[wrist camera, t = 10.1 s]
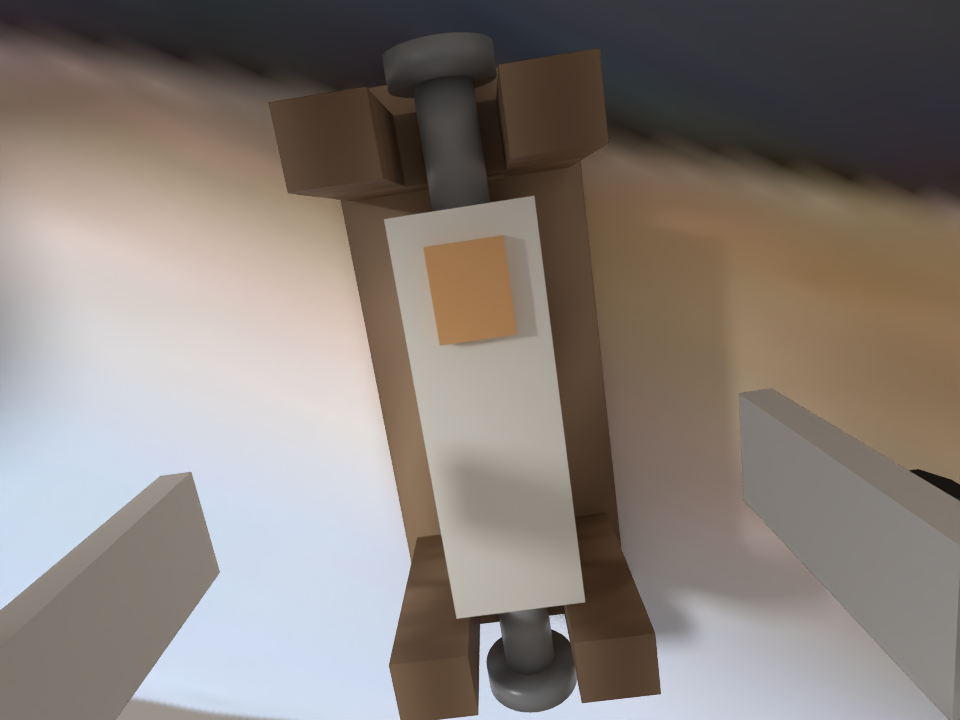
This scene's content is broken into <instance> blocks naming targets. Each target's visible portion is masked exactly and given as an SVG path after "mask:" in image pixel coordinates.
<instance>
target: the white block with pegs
mask: <svg viewBox="0 0 960 720" xmlns="http://www.w3.org/2000/svg"><path fill="white" fill-rule="evenodd" d="M382 60H383V66H384V71H385V77H386V83H387V89H388V93H389V94H390V95H392V96H396V97H402V98H414V101H415V107H416V113H417V120H418V126H419V132H420V138H421V144H422V150H423V156H424V162H425V168H426V175H427V181H428V187H429V193H430V199H431V205H432V211H433V212H427V213H420V214H414V215H407V216H401V217H395V218H388V219H384V223H385V228H386V234H387V239H388V245H389V250H390V256H391V261H392V267H393V272H394V278H395V283H396V289H397V294H398V300H399V305H400V311H401V316H402V322H403V327H404V333H405V338H406V344H407V349H408V355H409V360H410V366H411V371H412V377H413V382H414V388H415V393H416V399H417V404H418V410H419V415H420V421H421V426H422V432H423V437H424V443H425V448H426V454H427V459H428V465H429V470H430V476H431V481H432V487H433V492H434V498H435V503H436V509H437V514H438V519H439V525H440V530H441V536H442V541H443V547H444V552H445V558H446V563H447V569H448V574H449V580H450V585H451V591H452V596H453V602H454V607H455V613H456V618H457V619H458V618H466V617H474V616H482V615H490V614H497V613H498V615H499V621H500V627H501V633H502V637H501V638H500V639H498V640H497V641H496V642H495V643H494V645H493V646H492V647H491V649H490V651H489V653H488V656H487V669H488V675H489V681H490V686H491V690H492V693H493V695H494V696H495V698H496V699H497V700H498V701H499V702H500V703H501V704H503V705H504V706H506V707H508V708H510V709H513V710H516V711H520V712H540V711H545V710H548V709H551V708H553V707H555V706H557V705H559V704H561V703H562V702H563V701H565V700H566V699H567V698H568V697H569V696H570V694H571V693H572V692H573V690H574V688H575V685H576V682H577V675H576V670H575V665H574V659H573V654H572V649H571V644H570V642H569V641H568V639H567V638H566V637H564V636H563V635H562V634H560V633H558V632H556V631H554V630H551V627H550V620H549V613H548V607H552V606H560V605H568V604H576V603H584V602H585V596H584V588H583V580H582V572H581V564H580V556H579V548H578V540H577V532H576V524H575V516H574V508H573V500H572V492H571V484H570V476H569V468H568V460H567V452H566V444H565V436H564V428H563V420H562V412H561V405H560V397H559V389H558V381H557V373H556V365H555V357H554V349H553V341H552V333H551V325H550V317H549V309H548V301H547V293H546V285H545V277H544V269H543V261H542V253H541V245H540V237H539V229H538V221H537V213H536V205H535V197H534V196H530V197H523V198H517V199H510V200H504V201H497V202H491V203H490V197H489V189H488V182H487V175H486V168H485V161H484V154H483V147H482V140H481V133H480V126H479V119H478V112H477V105H476V98H475V91H474V89H475V88H478V87H480V86H483V85H485V84H487V83H490V82H491V81H493V80H494V79H495V78H496V77H497V71H496V63H495V56H494V48H493V41H492V39H491V38H490V37H489V36H486V35H483V34H479V33H472V32H452V33H441V34H435V35H429V36H424V37H420V38H416V39H412V40H409V41H406V42H403V43H400V44H398V45H396V46H394V47H392V48H390V49H389V50H387V51H386V52H385V53H384V54H383V56H382Z"/></svg>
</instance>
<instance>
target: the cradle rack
mask: <svg viewBox="0 0 960 720" xmlns="http://www.w3.org/2000/svg"><path fill="white" fill-rule="evenodd" d="M496 71H497V77H496V78H495V79H494V80H493V81H491V82H490V83H487V84H485V85H483V86H480V87H478V88H475V89H474V91H475V98H476V105H477V112H478V119H479V126H480V133H481V140H482V147H483V154H484V161H485V168H486V175H487V182H488V189H489V197H490V203H491V202H497V201H504V200H510V199H517V198H523V197H530V196H534V197H535V205H536V213H537V221H538V229H539V237H540V245H541V253H542V261H543V269H544V277H545V285H546V293H547V301H548V309H549V317H550V325H551V333H552V341H553V349H554V357H555V365H556V373H557V381H558V389H559V397H560V405H561V412H562V420H563V428H564V436H565V444H566V452H567V460H568V468H569V476H570V484H571V492H572V500H573V508H574V516H575V524H576V532H577V540H578V548H579V556H580V564H581V572H582V580H583V588H584V596H585V602H584V603H576V604H568V605H560V606H552V607H548V613H549V615H557V614H565V618H566V623H567V629H568V634H569V639H570V644H571V649H572V654H573V659H574V665H575V670H576V675H577V680H578V685H579V690H580V695H581V701H582V703H588V702H596V701H605V700H614V699H622V698H631V697H640V696H649V695H657V694H661V690H660V679H659V669H658V658H657V647H656V637H655V632H654V629H653V627H652V624H651V622H650V619H649V617H648V614H647V612H646V609H645V607H644V605H643V602H642V600H641V597H640V595H639V592H638V590H637V587H636V585H635V582H634V580H633V577H632V575H631V572H630V570H629V567H628V565H627V562H626V560H625V557H624V555H623V552H622V550H621V542H620V533H619V523H618V514H617V505H616V495H615V486H614V476H613V467H612V457H611V448H610V438H609V429H608V419H607V410H606V400H605V391H604V382H603V372H602V363H601V353H600V344H599V334H598V325H597V315H596V306H595V296H594V287H593V277H592V268H591V258H590V249H589V240H588V230H587V221H586V211H585V202H584V192H583V183H582V173H581V164H580V160H582V159H583V158H585V157H586V156H588V155H590V154H591V153H593V152H595V151H596V150H598V149H599V148H601V147H603V146H604V145H606V144H608V143H609V141H608V130H607V120H606V109H605V99H604V88H603V77H602V67H601V56H600V48H597V49H591V50H585V51H578V52H572V53H566V54H560V55H554V56H548V57H542V58H536V59H530V60H524V61H518V62H512V63H506V64H499V66H498V67H496ZM269 106H270V111H271V116H272V120H273V125H274V130H275V135H276V139H277V144H278V149H279V153H280V158H281V163H282V167H283V172H284V177H285V181H286V186H287V191H288V193H291V194H299V195H307V196H315V197H323V198H332V199H340V200H341V204H342V209H343V214H344V219H345V224H346V229H347V234H348V240H349V245H350V250H351V255H352V260H353V265H354V270H355V275H356V281H357V286H358V291H359V296H360V301H361V306H362V311H363V316H364V322H365V327H366V332H367V337H368V342H369V347H370V352H371V358H372V363H373V368H374V373H375V378H376V383H377V388H378V393H379V399H380V404H381V409H382V414H383V419H384V424H385V429H386V434H387V440H388V445H389V450H390V455H391V460H392V465H393V470H394V475H395V481H396V486H397V491H398V496H399V501H400V506H401V511H402V517H403V522H404V527H405V532H406V537H407V542H408V547H409V552H410V558H411V568H410V572H409V577H408V581H407V586H406V590H405V595H404V599H403V604H402V608H401V613H400V617H399V622H398V627H397V631H396V636H395V640H394V645H393V649H392V654H391V658H390V663H389V668H390V673H391V677H392V682H393V687H394V691H395V696H396V701H397V705H398V710H399V715H400V719H401V720H440V719H448V718H457V717H466V716H474V715H478V701H479V647H480V624H483V623H492V622H500V621H499V615H498V613H497V614H490V615H482V616H474V617H466V618H458V619H457V618H456V613H455V607H454V602H453V596H452V591H451V585H450V580H449V574H448V569H447V563H446V558H445V552H444V547H443V541H442V536H441V530H440V525H439V519H438V514H437V509H436V503H435V498H434V492H433V487H432V481H431V476H430V470H429V465H428V459H427V454H426V448H425V443H424V437H423V432H422V426H421V421H420V415H419V410H418V404H417V399H416V393H415V388H414V382H413V377H412V371H411V366H410V360H409V355H408V349H407V344H406V338H405V333H404V327H403V322H402V316H401V311H400V305H399V300H398V294H397V289H396V283H395V278H394V272H393V267H392V261H391V256H390V250H389V245H388V239H387V234H386V228H385V223H384V219H388V218H395V217H401V216H407V215H414V214H420V213H427V212H433V211H432V205H431V199H430V193H429V187H428V181H427V175H426V168H425V162H424V156H423V150H422V144H421V138H420V132H419V126H418V120H417V113H416V107H415V101H414V98H402V97H396V96H392V95H390V94H389V93H388V89H387V85H384V86H378V87H372V88H367V87H360V88H353V89H347V90H341V91H335V92H329V93H323V94H317V95H311V96H305V97H299V98H293V99H287V100H281V101H274V102H269Z"/></svg>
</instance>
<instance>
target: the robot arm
mask: <svg viewBox="0 0 960 720" xmlns="http://www.w3.org/2000/svg"><path fill="white" fill-rule="evenodd" d="M739 413H740V434H741V455H742V476H743V497H744V501H745V502H746V503H747V504H748V505H749V506H750V507H751V508H752V509H753V510H754V512H755V513H756V514H757V515H758V516H759V517H760V518H761V519H762V520H763V521H764V522H765V523H766V524H767V525H768V527H769V528H770V529H771V530H772V531H773V532H774V533H775V534H776V535H777V536H778V537H779V538H780V539H781V540H782V542H783V543H784V544H785V545H786V546H787V547H788V548H789V549H790V550H791V551H792V552H793V553H794V554H795V555H796V557H797V558H798V559H799V560H800V561H801V562H802V563H803V564H804V565H805V566H806V567H807V568H808V569H809V571H810V572H811V573H812V574H813V575H814V576H815V577H816V578H817V579H818V580H819V581H820V582H821V583H822V584H823V586H824V587H825V588H826V589H827V590H828V591H829V592H830V593H831V594H832V595H833V596H834V597H835V598H836V599H837V601H838V602H839V603H840V604H841V605H842V606H843V607H844V608H845V609H846V610H847V611H848V612H849V613H850V614H851V616H852V617H853V618H854V619H855V620H856V621H857V622H858V623H859V624H860V625H861V626H862V627H863V628H864V629H865V631H866V632H867V633H868V634H869V635H870V636H871V637H872V638H873V639H874V640H875V641H876V642H877V643H878V644H879V646H880V647H881V648H882V649H883V650H884V651H885V652H886V653H887V654H888V655H889V656H890V657H891V658H892V660H893V661H894V662H895V663H896V664H897V665H898V666H899V667H900V668H901V669H902V670H903V671H904V672H905V673H906V675H907V676H908V677H909V678H910V679H911V680H912V681H913V682H914V683H915V684H916V685H917V686H918V687H919V688H920V690H921V691H922V692H923V693H924V694H925V695H926V696H927V697H928V698H929V699H930V700H931V701H932V702H933V703H934V705H935V706H936V707H937V708H938V709H939V710H940V711H941V712H942V713H943V714H944V715H945V716H946V717H947V718H948V720H960V484H958V483H956V482H954V481H953V480H950V479H947V478H944V477H941V476H938V475H935V474H932V473H928V472H925V471H922V470H919V469H916V470H907V469H905V468H904V467H902V466H900V465H899V464H897V463H895V462H894V461H892V460H890V459H888V458H887V457H885V456H883V455H882V454H880V453H878V452H877V451H875V450H873V449H872V448H870V447H868V446H867V445H865V444H863V443H862V442H860V441H858V440H857V439H855V438H853V437H852V436H850V435H848V434H847V433H845V432H843V431H842V430H840V429H838V428H837V427H835V426H833V425H832V424H830V423H828V422H827V421H825V420H823V419H821V418H820V417H818V416H816V415H815V414H813V413H811V412H810V411H808V410H806V409H805V408H803V407H801V406H800V405H798V404H796V403H795V402H793V401H791V400H790V399H788V398H786V397H785V396H783V395H781V394H780V393H778V392H776V391H775V390H773V389H765V390H758V391H751V392H744V393H739ZM219 573H220V571H219V568H218V564H217V561H216V557H215V553H214V550H213V546H212V543H211V539H210V536H209V532H208V529H207V525H206V522H205V518H204V515H203V511H202V508H201V504H200V501H199V497H198V494H197V490H196V487H195V483H194V480H193V476H192V473H191V472H186V473H179V474H172V475H165V476H160V477H159V478H157V479H156V480H155V481H154V482H153V483H151V484H150V485H149V486H148V487H147V488H145V489H144V490H143V491H142V492H141V493H140V494H138V495H137V496H136V497H135V498H134V499H132V500H131V501H130V502H129V503H128V504H126V505H125V506H124V507H123V508H122V509H121V510H119V511H118V512H117V513H116V514H115V515H113V516H112V517H111V518H110V519H109V520H107V521H106V522H105V523H104V524H103V525H101V526H100V527H99V528H98V529H97V530H96V531H94V532H93V533H92V534H91V535H90V536H88V537H87V538H86V539H85V540H84V541H82V542H81V543H80V544H79V545H78V546H77V547H75V548H74V549H73V550H72V551H71V552H69V553H68V554H67V555H66V556H65V557H63V558H62V559H61V560H60V561H59V562H57V563H56V564H55V565H54V566H53V567H52V568H50V569H49V570H48V571H47V572H46V573H44V574H43V575H42V576H41V577H40V578H38V579H37V580H36V581H35V582H34V583H33V584H31V585H30V586H29V587H28V588H27V589H25V590H24V591H23V592H22V593H21V594H19V595H18V596H17V597H16V598H15V599H14V600H12V601H11V602H10V603H9V604H8V605H6V606H5V607H4V608H3V609H2V610H0V720H116V719H117V717H118V716H119V715H120V713H121V712H122V710H123V709H124V708H125V706H126V705H127V703H128V702H129V700H130V699H131V698H132V696H133V695H134V693H135V692H136V691H137V689H138V688H139V686H140V685H141V683H142V682H143V681H144V679H145V678H146V676H147V675H148V674H149V672H150V671H151V669H152V668H153V666H154V665H155V664H156V662H157V661H158V659H159V658H160V657H161V655H162V654H163V652H164V651H165V649H166V648H167V647H168V645H169V644H170V642H171V641H172V640H173V638H174V637H175V635H176V634H177V632H178V631H179V630H180V628H181V627H182V625H183V624H184V623H185V621H186V620H187V618H188V617H189V615H190V614H191V613H192V611H193V610H194V608H195V607H196V606H197V604H198V603H199V601H200V600H201V598H202V597H203V596H204V594H205V593H206V591H207V590H208V589H209V587H210V586H211V584H212V583H213V581H214V580H215V579H216V577H217V576H218V574H219Z"/></svg>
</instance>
